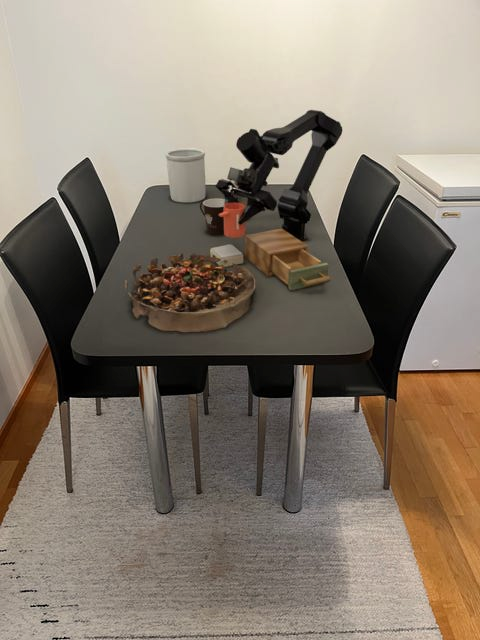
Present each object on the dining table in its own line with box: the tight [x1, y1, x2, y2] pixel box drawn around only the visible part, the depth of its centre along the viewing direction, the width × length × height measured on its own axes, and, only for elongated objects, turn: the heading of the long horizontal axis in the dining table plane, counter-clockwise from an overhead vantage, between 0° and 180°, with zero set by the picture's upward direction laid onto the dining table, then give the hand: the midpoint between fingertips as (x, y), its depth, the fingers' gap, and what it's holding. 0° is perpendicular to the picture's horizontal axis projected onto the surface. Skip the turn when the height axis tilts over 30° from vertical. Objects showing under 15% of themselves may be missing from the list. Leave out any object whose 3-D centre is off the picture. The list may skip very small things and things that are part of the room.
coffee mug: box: [199, 198, 225, 237], centre depth 165 cm, size 12×9×10 cm
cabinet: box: [244, 228, 308, 277], centre depth 145 cm, size 14×12×7 cm
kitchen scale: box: [209, 243, 244, 268], centre depth 147 cm, size 7×8×3 cm
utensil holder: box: [165, 147, 207, 204], centre depth 193 cm, size 15×15×18 cm
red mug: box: [219, 203, 246, 239], centre depth 138 cm, size 8×6×8 cm
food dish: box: [124, 252, 257, 333], centre depth 128 cm, size 35×33×8 cm
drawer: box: [270, 249, 331, 291], centre depth 134 cm, size 18×11×5 cm, turn 26°
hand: (231, 221), depth 138 cm, fingers closed on red mug, 6 cm apart
